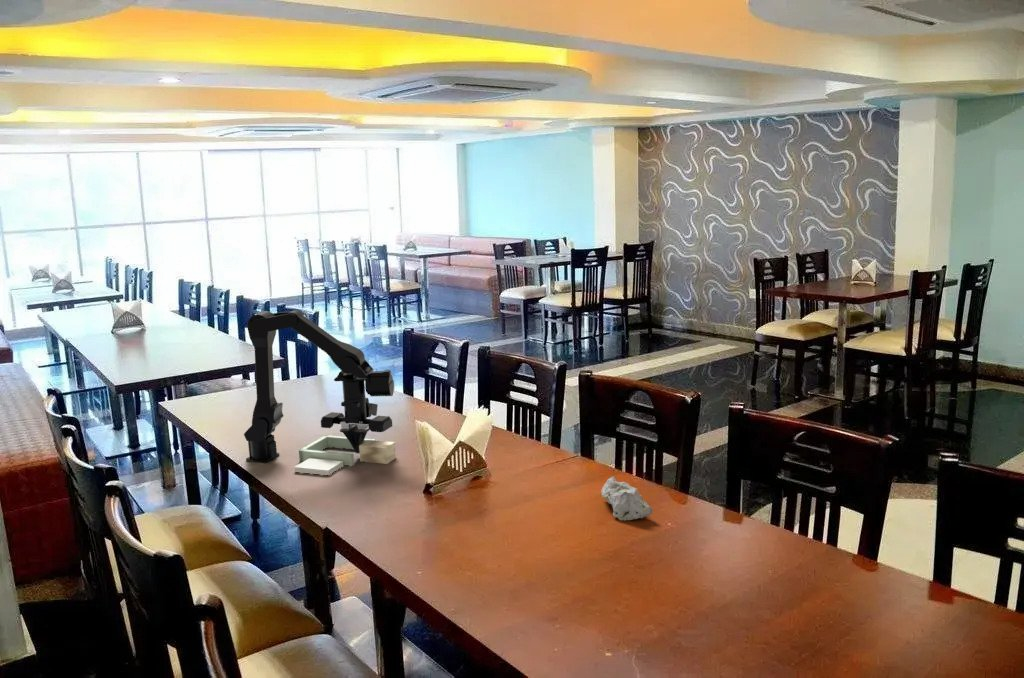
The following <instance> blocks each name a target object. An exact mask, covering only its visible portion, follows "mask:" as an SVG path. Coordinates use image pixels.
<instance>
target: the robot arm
mask: <svg viewBox="0 0 1024 678" xmlns="http://www.w3.org/2000/svg"><path fill="white" fill-rule="evenodd" d="M246 327H247V331H248V337H249V339H250V341H251V343H252V346H253V347H254V365H255V367H254V368H255V386H256V388H255V390H256V402H255V405H254V408H253V411H252V419H251V426H250V427H248V428H247V429H246V431H245V432H244V433H243V437H244V438H245V440H246V441H247V442H248V443H247V444H248V445H247V446H248V454H249V456H248V457H246V458H245V461H247V462H257V463H268V462H270V461H271V460H273V459H275V458H277V457H278V456H280V453H279V452H278V450H277V442H276V440H275V435H274V434H273V433H274V432H275V431H276V427H278V426H279V424H280V423H281V421H282V418H283V417H284V413H283V405H284V404H283V402H278V401H277V399H276V397H275V382H274V381H275V378H274V377H275V376H274V357H273V356H274V354H273V353H274V352H273V345H274V341H275V338H276V334H277V331H278V330H279V331H280V330H284V329H292V330H293V331H295V332H297V333H298V334H299V335H301V336H302V337H303V338H305V339H306V340H307V341H309V342H310V343H312V344H313V345H314V346H316V347H317V348H318V349H320V350H321V351H322V352H324V353H326V354H327V356H328V357H330V359H331V361H332V362H333V364H334V365H335V366H336V367H337V368H338V369H339V370H340V371H339V372H338V374H337V376H336V377H335V378H334V379H333V381H334V382H342V397H343V401H341V403H340V404H341V407H343V408H344V409H343V410H344V411H343V412H344V413H343V412H334V411H332V412H328V413H327V414H326V415H324V416H322V417H321V419H320V427H321V428H322V429H323V428H325V429H331V428H332V427H333V426H334V425H340V426H341V427H340V429H339V432H340V433H343V435H344V437H346V438H347V439H348V440H349V442H350V443H351V445H352V447H353V448H354V449H353V450H354V452H355V453H356V454H360V452H359V445H361V444H363V442H364V439H366V436H367V434H368V432H369V431H370V432H373V433H384V432H386V431H387V430H388V429H390V428H391V427H393V419H392V418H391V417H390V415H387V416H386V415H377V413H378V405H379V404H377V403H374V402H373V403H371V402H370V399H369V397H366V393H367V395H369V396H370V397H393V395H394V393H395V380H394V378H393V375H392V372H391V371H392V370H390V369H386V370H385V369H384V370H374V367H372V365H370V363H369V362H368V361H367V360H366V359H365V358H366V357H365V353H364V351H362V349H360V348H358V347H356V346H355V345H354V346H353V345H352V344H350V343H346V342H343V341H341V340H339V339H337V338H335V336H333V335H331V334H330V333H329V332H327V331H326V330H324V329H323V328H322V327H320V326H319V325H317V323H315V322H314V321H312V320H310V319H309V318H308V317H306V316H305V315H303V313H302V312H301V311H299V310H296V309H295V310H292V311H281V312H280V311H279V312H271V311H267V310H264V311H260V312H259V313H256V314H254V315H252V316H250V317H249V319H248V320H247V323H246ZM372 416H375V417H374V418H371V417H372Z"/></svg>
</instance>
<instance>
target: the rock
mask: <svg viewBox="0 0 1024 678" xmlns="http://www.w3.org/2000/svg"><path fill="white" fill-rule="evenodd" d="M600 494H601V497H602V498H604V499H606V502H607V503H608V504H610V505H611V506H612V510H613V512H612V516H613V517H614V518H617V519H618V520H619V521H625V522H626V521H633V520H637V519H643V518H645V517H646V516H651V515H652V514H653V509H652V507H651V506H650V505H649V504H648V502H646V501H645V500H644V499H643V497H642V494H640V493H639V489H638V488H637V487H633V486H631V484H630V483H627V482H625V481H617V479H616V478H615V476H613V475H612V476H611V477H610V478H608V479H606V482H605V483H604V484H603V486H602V488H601V490H600Z"/></svg>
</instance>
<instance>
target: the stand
mask: <svg viewBox="0 0 1024 678" xmlns="http://www.w3.org/2000/svg"><path fill="white" fill-rule="evenodd" d="M341 467H342V468H344V466H343V461H335V460H325V459H314V458H309V459H307V460H305V461H304V462H302V461H301V462H300V463H299V464H297V465H295V466H294V470H293V471H294V473H295V472H300V473H299V474H303V473H310V474H309V475H313V474H321V475H320V476H323V475H330V474H331V473H333V472H334V471H336V470H337V469H339V468H340V469H342V468H341ZM340 469H339V470H340ZM337 471H338V470H337ZM337 471H336V472H337ZM312 473H313V474H312ZM334 473H335V472H334ZM334 473H333V474H334ZM331 475H332V474H331ZM331 475H330V476H331Z"/></svg>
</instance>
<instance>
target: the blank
mask: <svg viewBox="0 0 1024 678" xmlns="http://www.w3.org/2000/svg"><path fill="white" fill-rule="evenodd" d="M359 452H360V453H359V461H360V462H362V461H365V462H367V463H375V464H376V463H377V464H385V465H387V464H390V462H392V461H393V460H395V459H397V453H396V441H385V440H376V441H375V440H367V441H366V442H364V443H363V444H361V445H359ZM365 462H364V463H365Z"/></svg>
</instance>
